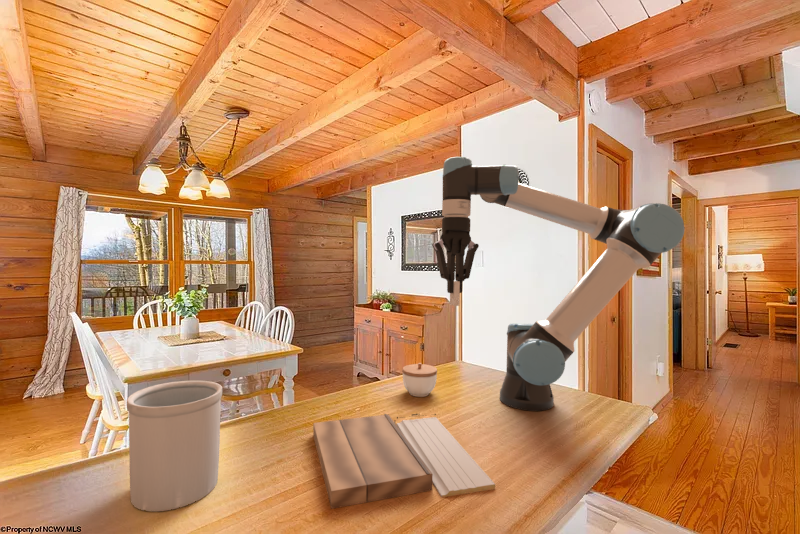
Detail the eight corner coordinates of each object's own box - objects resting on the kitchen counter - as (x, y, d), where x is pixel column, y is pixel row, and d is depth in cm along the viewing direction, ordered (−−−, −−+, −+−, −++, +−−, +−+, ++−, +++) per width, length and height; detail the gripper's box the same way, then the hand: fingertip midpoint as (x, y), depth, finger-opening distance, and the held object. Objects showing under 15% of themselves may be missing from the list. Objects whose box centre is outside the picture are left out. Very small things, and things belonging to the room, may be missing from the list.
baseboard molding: (433, 501, 70) (495, 492, 73) (434, 485, 70) (495, 476, 73) (390, 427, 100) (435, 422, 103) (391, 415, 100) (435, 411, 103)
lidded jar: (400, 388, 128) (400, 359, 127) (433, 387, 129) (433, 358, 128) (404, 400, 117) (404, 368, 117) (439, 399, 118) (440, 368, 118)
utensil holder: (155, 467, 79) (155, 379, 78) (233, 465, 80) (233, 378, 79) (106, 515, 64) (105, 408, 63) (202, 513, 65) (202, 407, 64)
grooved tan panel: (388, 426, 99) (388, 413, 99) (432, 490, 72) (432, 472, 72) (313, 435, 93) (313, 422, 93) (331, 508, 67) (331, 490, 66)
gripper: (439, 214, 100) (437, 307, 101) (485, 217, 105) (483, 306, 105) (428, 217, 108) (426, 304, 108) (471, 219, 112) (469, 303, 112)
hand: (454, 305), depth 107 cm, fingers closed
